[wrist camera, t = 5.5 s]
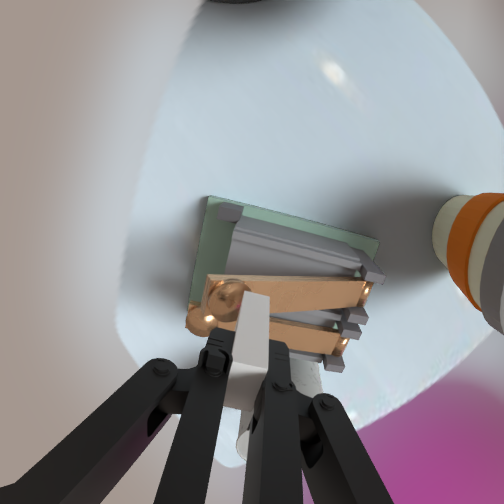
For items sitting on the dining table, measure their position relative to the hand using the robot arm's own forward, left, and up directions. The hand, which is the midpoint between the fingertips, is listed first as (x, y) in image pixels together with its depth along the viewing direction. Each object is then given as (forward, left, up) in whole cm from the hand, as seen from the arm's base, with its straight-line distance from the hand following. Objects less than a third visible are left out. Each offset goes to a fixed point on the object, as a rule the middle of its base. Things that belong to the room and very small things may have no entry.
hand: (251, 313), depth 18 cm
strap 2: (+5, +3, -8) cm, 10 cm away
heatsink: (+3, +3, -15) cm, 15 cm away
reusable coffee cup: (-8, +23, -15) cm, 28 cm away
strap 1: (0, +3, -5) cm, 6 cm away
